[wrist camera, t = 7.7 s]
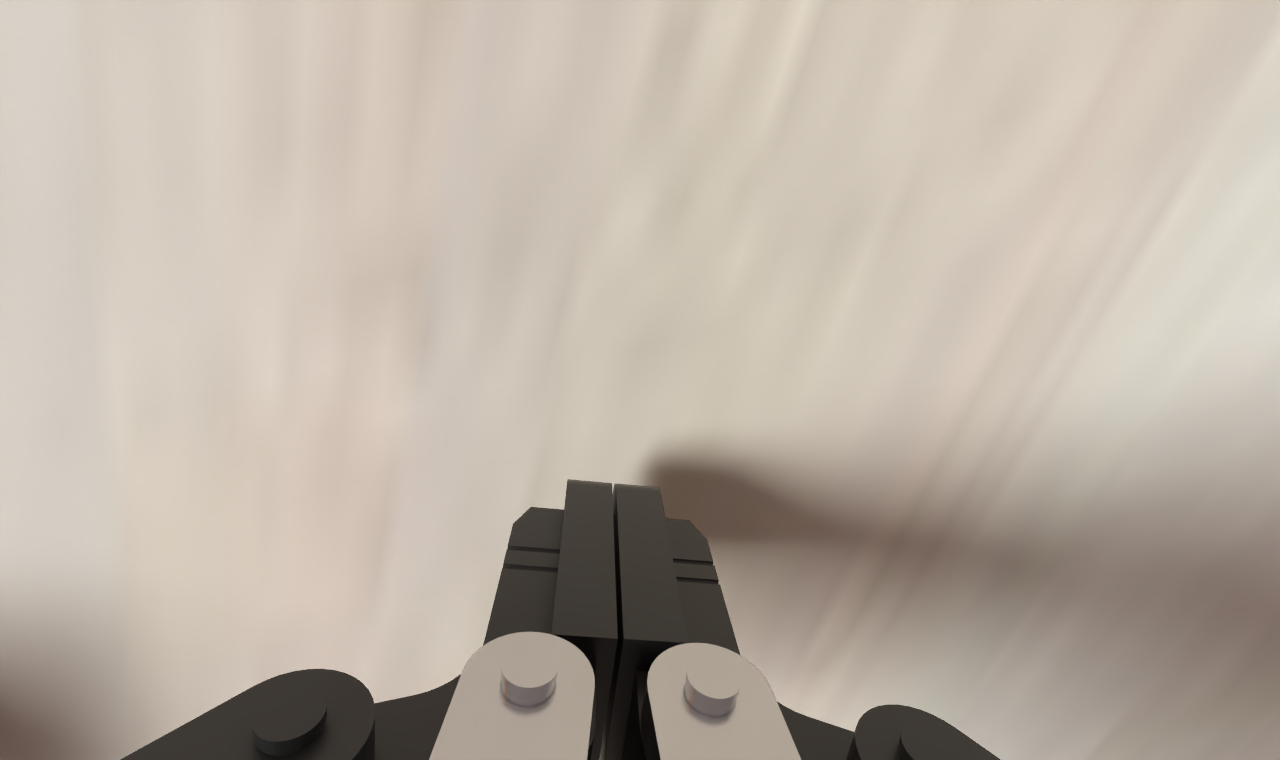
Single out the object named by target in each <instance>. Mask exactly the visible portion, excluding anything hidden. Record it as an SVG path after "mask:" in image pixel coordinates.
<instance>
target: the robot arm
mask: <svg viewBox="0 0 1280 760" xmlns="http://www.w3.org/2000/svg"><path fill="white" fill-rule="evenodd" d="M121 760H1000V759H999V758H997V757H996V756H995V755H993V754H992V753H990V752H989V751H987V750H986V749H985V748H983V747H982V746H980V745H979V744H977V743H976V742H975V741H973V740H972V739H970V738H969V737H967V736H966V735H965V734H963V733H962V732H960V731H959V730H957V729H956V728H955V727H953V726H951V725H950V724H948V723H947V722H945V721H944V720H942V719H940V718H938V717H936V716H934V715H932V714H929V713H927V712H924V711H922V710H919V709H916V708H912V707H908V706H902V705H883V706H878V707H875V708H872V709H870V710H869V711H867V712H866V713H864V714H863V716H862V717H861V718H860V719H859V722H858V724H857V727H856V730H855V732H852V731H849V730H846V729H843V728H840V727H837V726H834V725H831V724H828V723H825V722H822V721H819V720H816V719H813V718H810V717H807V716H804V715H802V714H799V713H797V712H795V711H793V710H791V709H789V708H787V707H785V706H783V705H782V704H780V703H779V702H777V701H776V698H775V696H774V693H773V691H772V689H771V687H770V685H769V683H768V681H767V680H766V678H765V677H764V676H763V674H762V673H761V672H760V671H759V670H758V669H757V668H756V667H755V666H754V665H753V664H752V663H751V662H749V661H748V660H747V659H745V658H744V657H742V656H740V653H739V649H738V646H737V642H736V639H735V636H734V632H733V629H732V625H731V622H730V618H729V615H728V611H727V608H726V604H725V601H724V597H723V594H722V590H721V587H720V585H718V577H717V573H716V570H715V566H713V559H712V556H711V552H710V549H709V545H708V542H707V539H706V538H705V537H704V536H703V535H702V534H701V533H700V532H699V531H698V530H697V529H696V528H695V527H694V525H693V524H692V523H691V522H690V521H688V520H677V519H665V514H664V509H663V504H662V498H661V493H660V489H659V488H658V487H647V486H636V485H625V484H615V485H614V489H613V494H612V484H611V483H602V482H591V481H580V480H569V479H568V481H567V490H566V499H565V508H564V510H560V509H548V508H537V507H531V508H530V509H528V510H527V511H526V512H525V513H524V514H523V515H522V516H521V517H520V518H519V519H518V520H517V521H516V522H515V523H514V524H513V527H512V531H511V535H510V539H509V543H508V549H507V551H506V555H505V560H504V564H503V568H502V572H501V576H500V580H499V584H498V588H497V592H496V596H495V600H494V604H493V608H492V612H491V616H490V621H489V625H488V629H487V633H486V637H485V641H484V644H483V646H482V647H481V648H479V649H478V650H477V651H476V652H475V653H474V654H473V655H472V656H471V658H470V659H469V660H468V661H467V663H466V665H465V667H464V669H463V671H462V674H461V675H459V676H458V677H456V678H455V679H453V680H452V681H450V682H448V683H446V684H444V685H443V686H441V687H438V688H436V689H433V690H431V691H428V692H425V693H421V694H417V695H413V696H409V697H404V698H399V699H394V700H389V701H385V702H380V703H375V704H374V701H373V698H372V696H371V694H370V692H369V690H368V689H367V688H366V687H365V685H364V684H363V683H362V682H360V681H359V680H357V679H356V678H355V677H353V676H350V675H348V674H346V673H343V672H339V671H335V670H327V669H307V670H300V671H294V672H290V673H286V674H282V675H279V676H276V677H274V678H271V679H268V680H266V681H264V682H262V683H260V684H258V685H255V686H253V687H252V688H250V689H248V690H246V691H244V692H242V693H241V694H239V695H237V696H235V697H233V698H232V699H230V700H228V701H226V702H224V703H222V704H221V705H219V706H217V707H215V708H213V709H212V710H210V711H208V712H206V713H204V714H203V715H201V716H199V717H197V718H195V719H193V720H192V721H190V722H188V723H186V724H184V725H183V726H181V727H179V728H177V729H175V730H173V731H172V732H170V733H168V734H166V735H164V736H163V737H161V738H159V739H157V740H155V741H153V742H152V743H150V744H148V745H146V746H144V747H143V748H141V749H139V750H137V751H135V752H134V753H132V754H130V755H128V756H126V757H124V758H123V759H121Z"/></svg>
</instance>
